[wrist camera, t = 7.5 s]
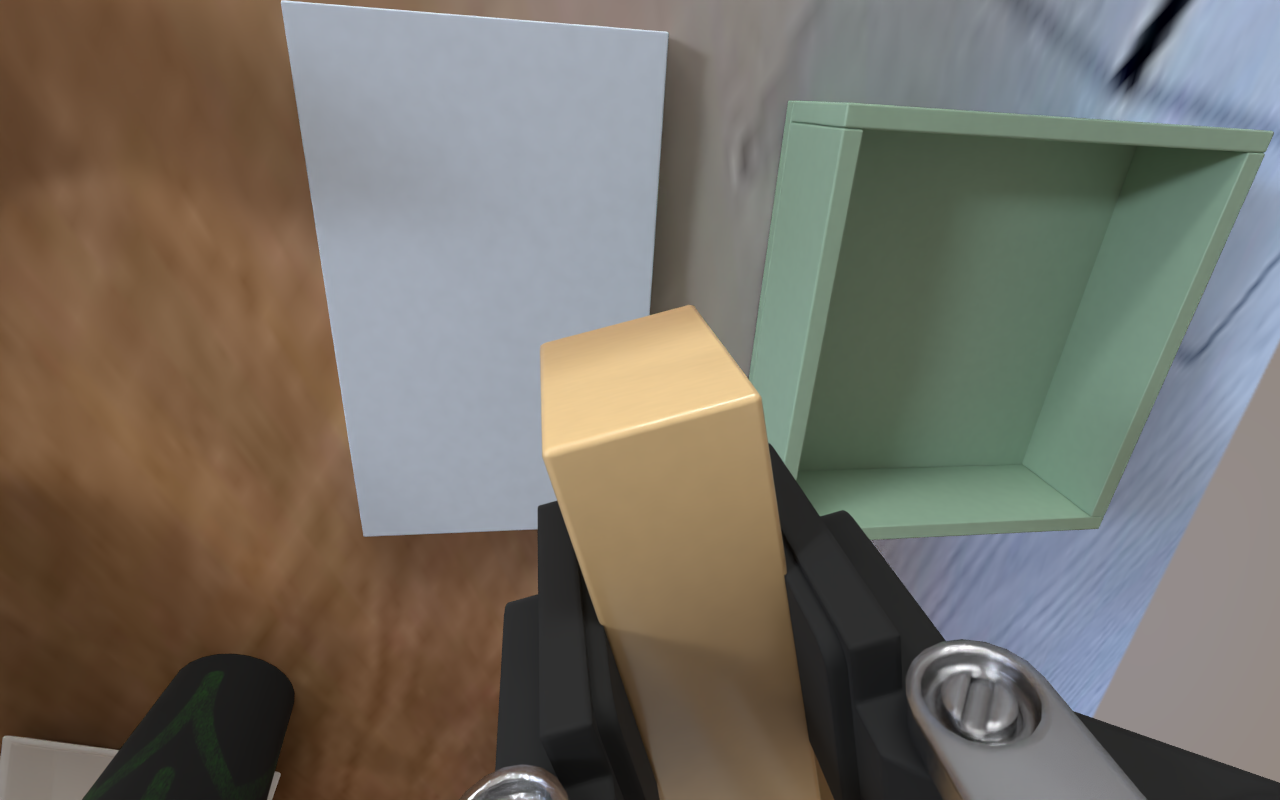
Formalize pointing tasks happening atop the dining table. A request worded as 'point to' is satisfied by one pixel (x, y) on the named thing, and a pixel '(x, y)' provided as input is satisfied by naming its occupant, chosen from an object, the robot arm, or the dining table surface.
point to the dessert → (55, 769)
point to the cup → (205, 736)
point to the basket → (981, 306)
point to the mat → (470, 236)
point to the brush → (682, 551)
